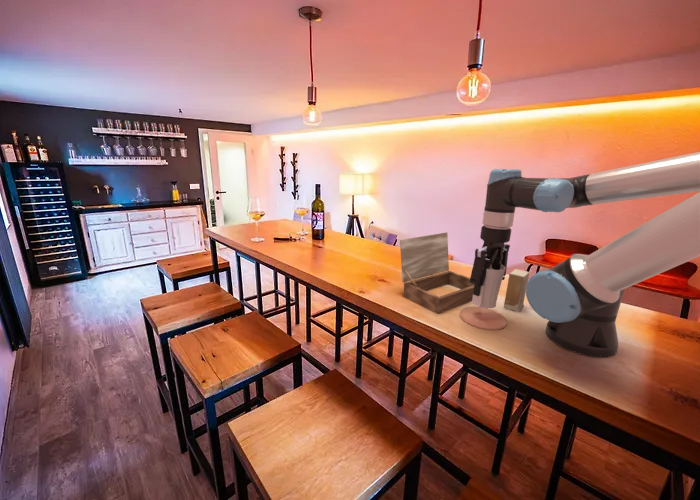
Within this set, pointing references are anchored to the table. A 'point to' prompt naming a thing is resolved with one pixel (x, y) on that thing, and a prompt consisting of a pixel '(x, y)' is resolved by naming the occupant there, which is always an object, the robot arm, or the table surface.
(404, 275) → the hinged wooden box
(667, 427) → the table surface
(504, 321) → the saucer
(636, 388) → the table surface
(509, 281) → the skincare box
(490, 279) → the cup
